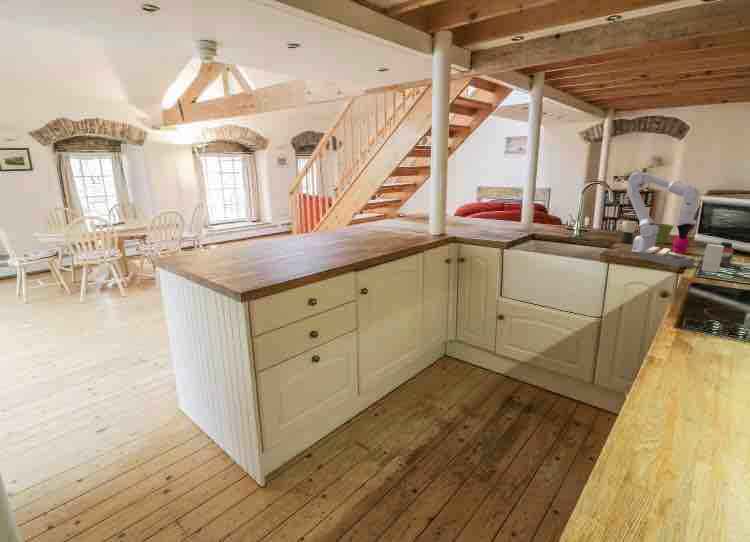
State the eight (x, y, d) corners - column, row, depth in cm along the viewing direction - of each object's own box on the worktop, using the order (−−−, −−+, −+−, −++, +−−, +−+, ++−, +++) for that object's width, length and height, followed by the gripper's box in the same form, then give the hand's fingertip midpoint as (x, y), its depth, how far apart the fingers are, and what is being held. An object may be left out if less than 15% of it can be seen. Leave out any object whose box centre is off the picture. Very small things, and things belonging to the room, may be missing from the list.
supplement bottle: (713, 263, 204) (719, 241, 201) (729, 265, 201) (735, 242, 198) (713, 265, 200) (719, 242, 197) (729, 267, 196) (735, 244, 193)
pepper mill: (687, 254, 223) (695, 217, 218) (671, 252, 227) (679, 216, 222) (687, 252, 228) (695, 216, 223) (671, 250, 233) (679, 215, 227)
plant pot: (675, 244, 251) (679, 225, 248) (661, 245, 247) (665, 226, 244) (656, 240, 262) (659, 222, 259) (643, 241, 257) (646, 223, 254)
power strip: (636, 258, 211) (638, 250, 210) (651, 256, 216) (653, 248, 215) (678, 267, 194) (680, 259, 193) (693, 265, 199) (695, 257, 198)
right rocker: (668, 253, 198) (669, 251, 198) (675, 255, 201) (676, 253, 200) (674, 254, 195) (675, 252, 195) (681, 257, 198) (682, 255, 198)
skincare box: (718, 271, 189) (725, 245, 186) (717, 273, 186) (724, 247, 182) (701, 268, 193) (708, 243, 190) (700, 270, 190) (706, 244, 186)
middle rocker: (656, 254, 203) (656, 253, 203) (664, 249, 205) (664, 247, 205) (662, 256, 201) (662, 254, 200) (670, 250, 203) (670, 248, 202)
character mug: (633, 242, 254) (637, 221, 251) (638, 244, 248) (642, 222, 244) (614, 240, 256) (617, 220, 253) (618, 243, 249) (622, 221, 246)
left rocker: (645, 251, 208) (645, 249, 208) (653, 248, 210) (653, 246, 210) (651, 253, 206) (651, 251, 205) (659, 249, 208) (659, 247, 207)
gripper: (687, 213, 200) (682, 241, 203) (705, 212, 205) (699, 239, 209) (672, 211, 206) (667, 238, 209) (689, 210, 212) (684, 236, 215)
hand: (682, 238), depth 209 cm, fingers closed
